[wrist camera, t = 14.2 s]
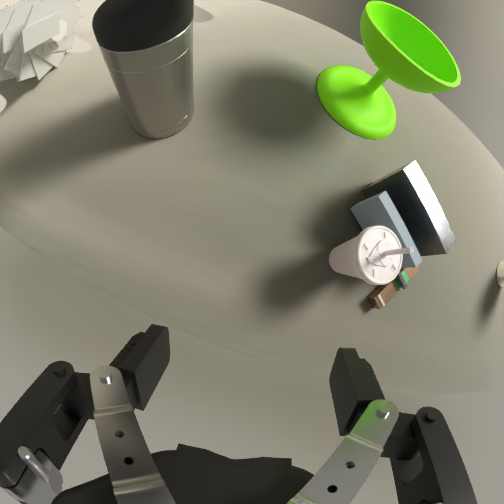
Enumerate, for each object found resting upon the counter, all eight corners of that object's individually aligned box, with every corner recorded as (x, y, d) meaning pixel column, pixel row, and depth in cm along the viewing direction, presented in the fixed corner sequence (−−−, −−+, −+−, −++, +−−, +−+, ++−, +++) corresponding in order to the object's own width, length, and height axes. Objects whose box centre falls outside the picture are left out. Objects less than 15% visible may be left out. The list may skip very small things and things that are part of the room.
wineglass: (394, 90, 41) (449, 42, 24) (394, 154, 39) (469, 109, 22) (322, 54, 39) (364, -12, 21) (310, 114, 37) (366, 37, 19)
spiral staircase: (21, 62, 32) (93, 54, 35) (-32, 104, 23) (30, 98, 25) (15, 0, 17) (95, -26, 19) (-47, 35, 8) (17, -3, 10)
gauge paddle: (350, 208, 36) (378, 196, 29) (357, 203, 36) (385, 190, 29) (395, 290, 36) (427, 292, 29) (401, 284, 37) (433, 285, 30)
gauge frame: (321, 219, 36) (359, 201, 26) (374, 181, 38) (415, 160, 28) (373, 307, 37) (418, 316, 27) (418, 262, 39) (463, 259, 29)
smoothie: (365, 273, 37) (435, 272, 23) (327, 290, 36) (392, 297, 22) (351, 230, 37) (418, 210, 23) (313, 244, 36) (373, 228, 22)
